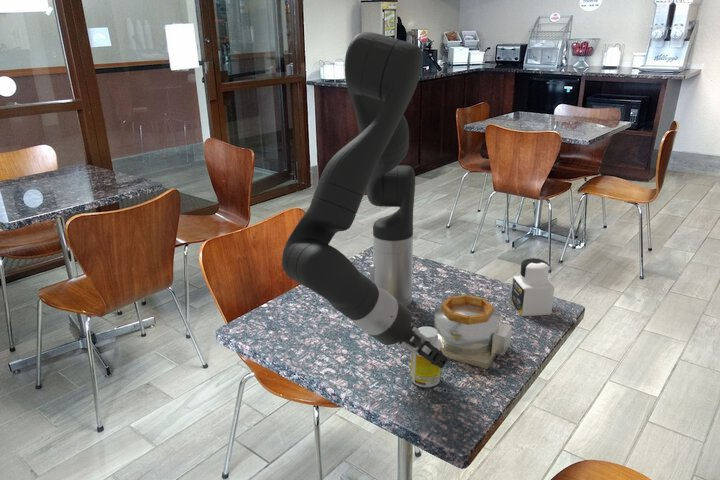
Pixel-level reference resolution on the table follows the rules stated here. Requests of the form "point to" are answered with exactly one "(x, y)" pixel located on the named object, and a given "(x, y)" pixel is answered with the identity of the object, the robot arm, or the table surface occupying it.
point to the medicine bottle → (533, 289)
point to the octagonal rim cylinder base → (471, 330)
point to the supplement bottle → (425, 362)
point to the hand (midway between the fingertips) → (433, 355)
